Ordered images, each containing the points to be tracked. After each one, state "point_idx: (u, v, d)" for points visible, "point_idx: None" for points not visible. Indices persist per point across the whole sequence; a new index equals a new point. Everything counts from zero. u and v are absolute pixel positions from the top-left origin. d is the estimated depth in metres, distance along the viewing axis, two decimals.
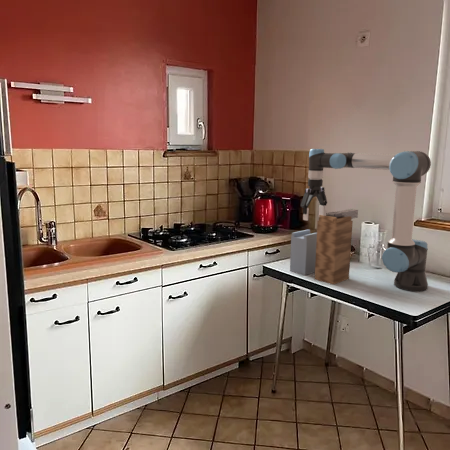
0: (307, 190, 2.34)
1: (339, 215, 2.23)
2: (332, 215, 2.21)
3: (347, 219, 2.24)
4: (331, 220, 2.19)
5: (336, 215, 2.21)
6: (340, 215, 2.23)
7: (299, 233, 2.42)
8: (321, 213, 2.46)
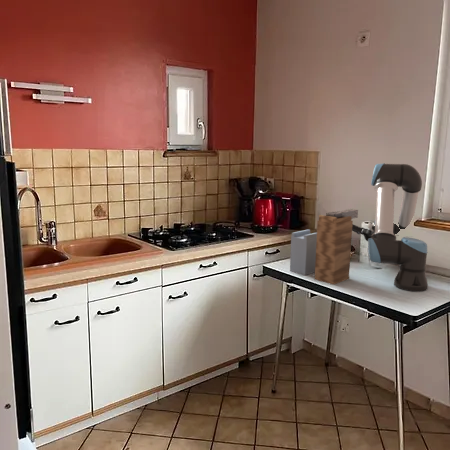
0: None
1: (339, 215, 2.23)
2: (332, 215, 2.21)
3: (347, 219, 2.24)
4: (331, 220, 2.19)
5: (336, 215, 2.21)
6: (340, 215, 2.23)
7: (299, 233, 2.42)
8: None
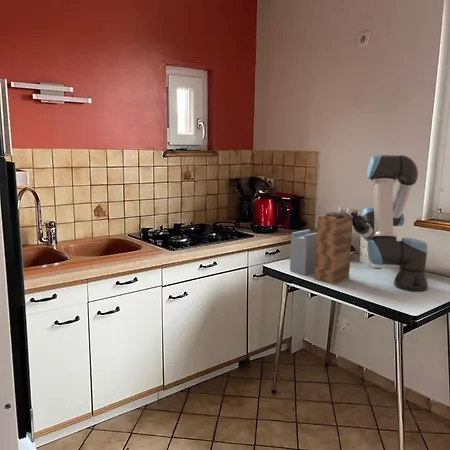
0: None
1: (339, 215, 2.23)
2: (332, 215, 2.21)
3: (347, 219, 2.24)
4: (331, 220, 2.19)
5: (336, 215, 2.21)
6: (340, 215, 2.23)
7: (299, 233, 2.42)
8: None
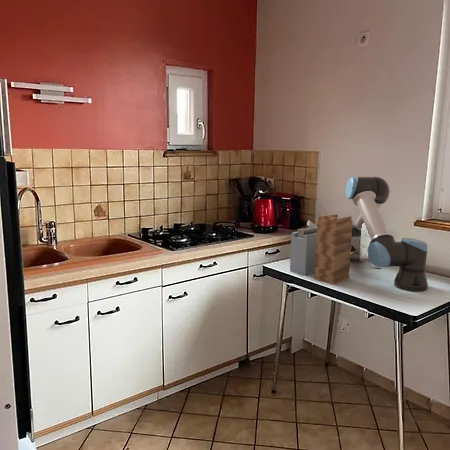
0: None
1: (309, 231, 2.38)
2: (302, 231, 2.36)
3: (347, 219, 2.24)
4: (331, 220, 2.19)
5: (306, 231, 2.36)
6: (310, 231, 2.39)
7: None
8: None
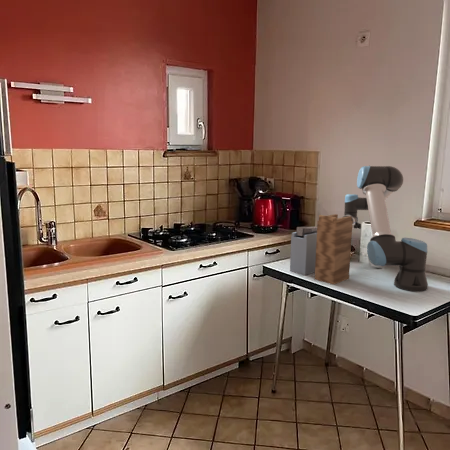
0: None
1: (308, 230, 2.38)
2: (301, 229, 2.37)
3: (347, 219, 2.24)
4: (331, 220, 2.19)
5: (305, 229, 2.37)
6: (309, 230, 2.39)
7: None
8: None
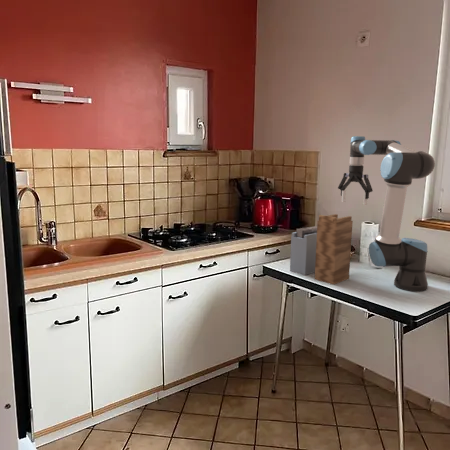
0: None
1: (308, 231, 2.38)
2: (301, 231, 2.37)
3: (347, 219, 2.24)
4: (331, 220, 2.19)
5: (305, 231, 2.37)
6: (309, 232, 2.39)
7: None
8: None
